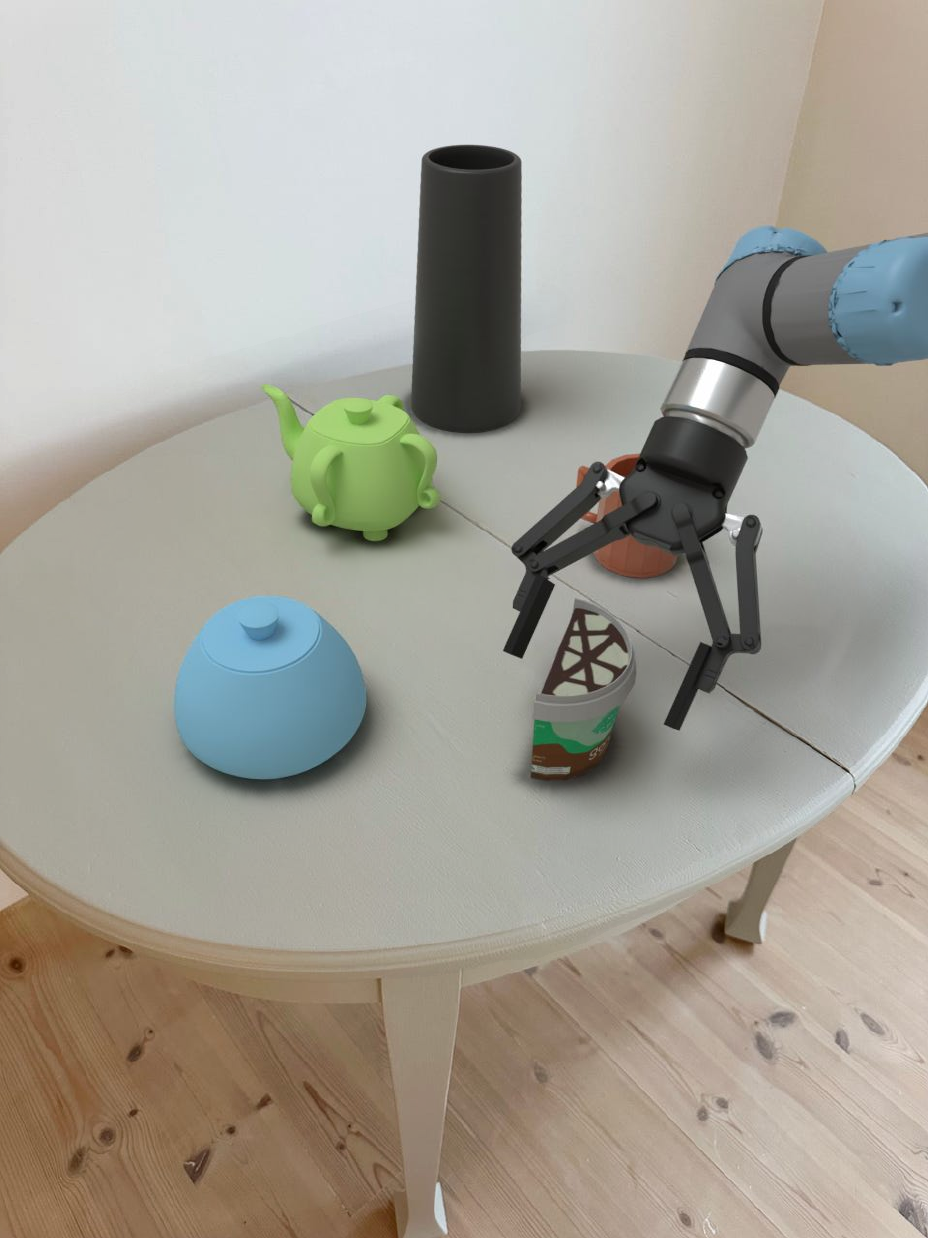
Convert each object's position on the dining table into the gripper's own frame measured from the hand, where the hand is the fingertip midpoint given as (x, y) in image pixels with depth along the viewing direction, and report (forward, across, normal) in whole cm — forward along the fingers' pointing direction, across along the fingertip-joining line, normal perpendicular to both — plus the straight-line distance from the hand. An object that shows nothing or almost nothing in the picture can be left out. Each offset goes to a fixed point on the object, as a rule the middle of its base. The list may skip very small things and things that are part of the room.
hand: (588, 690), depth 72 cm
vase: (-25, +39, -34) cm, 58 cm away
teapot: (-7, +36, -16) cm, 40 cm away
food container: (+4, 0, -5) cm, 6 cm away
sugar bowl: (+13, +22, +4) cm, 26 cm away
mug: (-14, +10, -23) cm, 29 cm away
